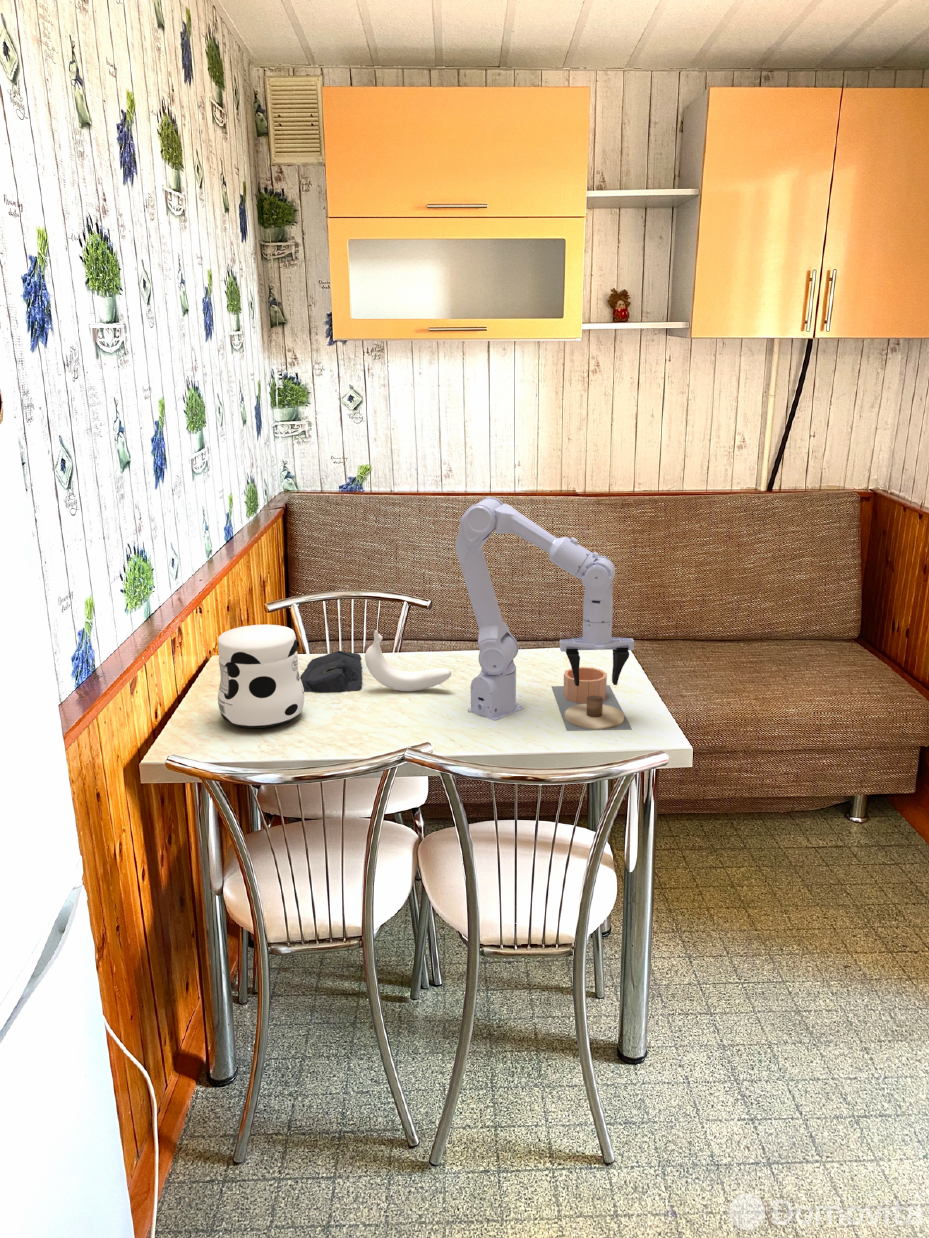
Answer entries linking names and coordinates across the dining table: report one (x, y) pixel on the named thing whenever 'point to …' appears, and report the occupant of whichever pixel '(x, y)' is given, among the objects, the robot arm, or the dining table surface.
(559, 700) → the mat
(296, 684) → the milk container
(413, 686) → the banana
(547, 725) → the dining table surface
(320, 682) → the dark slate chunk
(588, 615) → the robot arm
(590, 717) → the lid
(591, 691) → the bowl
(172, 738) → the dining table surface
